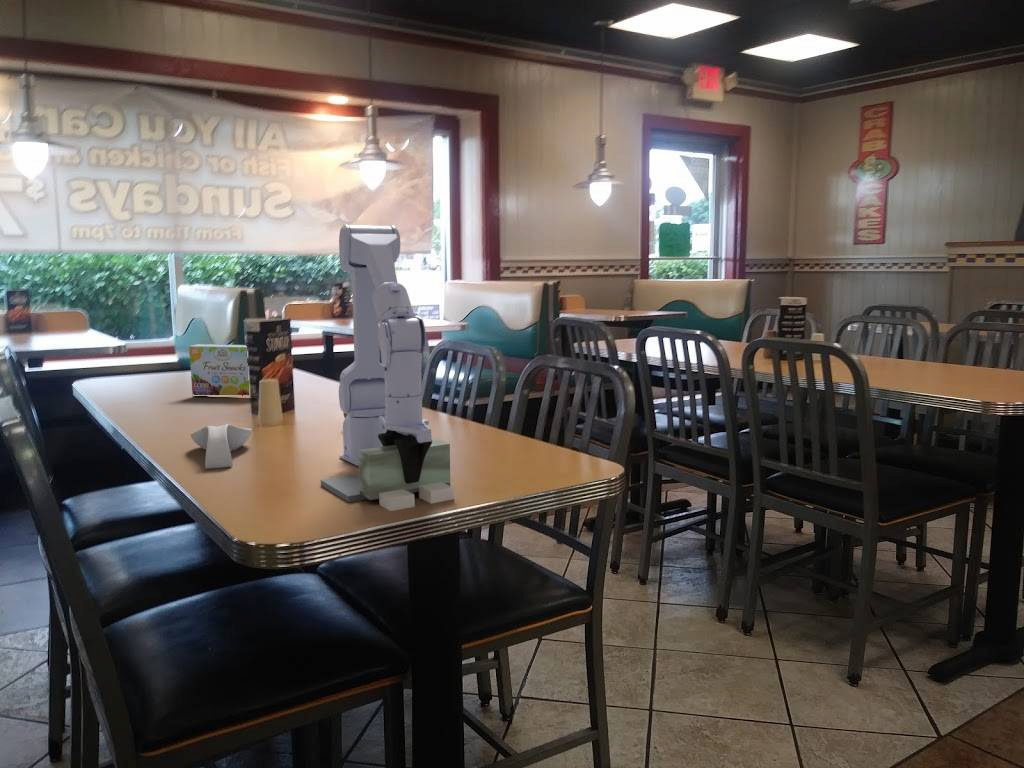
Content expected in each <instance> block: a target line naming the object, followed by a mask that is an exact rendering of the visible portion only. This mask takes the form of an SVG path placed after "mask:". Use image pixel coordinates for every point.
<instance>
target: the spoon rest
mask: <svg viewBox="0 0 1024 768" xmlns="http://www.w3.org/2000/svg"><path fill="white" fill-rule="evenodd" d="M252 432H253V429H252V428H248V427H239V426H235V425H233V424H229V423H226V424H223V425H220V426H214V425H206V426H204V427H202V428H201V429H199V430H196V431H194V432H191V433H190V438H191V440H192V441H193V442H194V443H195V444H196V445H198V446H199V447H201V449H203V450H204V451H205V457H204V459H205V461H204V467H205V469H208V470H210V469H223V468H231V467H233V459H232V455H231V452H233V451H237V450H238V449H239V448H240V447H242V446H243V445H245V443H246V442H247V441H248V440H249V439H250V437H251V435H252ZM232 450H233V451H232Z"/></svg>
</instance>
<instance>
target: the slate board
mask: <svg viewBox="0 0 1024 768" xmlns="http://www.w3.org/2000/svg"><path fill="white" fill-rule="evenodd" d="M320 487H322V488H324V489H326V490H327V491H329V492H331V493H332V494H334V495H336V496H337V497H339V498H340V499H342V500H344V501H345V502H347V503H352V502H358V501H364V500H369V499H368V498H366V497H364V496H363V495H361V494H360V488H359V473H356V474H350V475H348V474H347V475H342V476H335V477H331V478H330V477H329V478H324V479H320Z"/></svg>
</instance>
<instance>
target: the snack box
mask: <svg viewBox="0 0 1024 768" xmlns="http://www.w3.org/2000/svg"><path fill="white" fill-rule="evenodd" d="M246 345H247V344H215V343H214V344H212V343H211V344H209V343H208V344H207V343H198V344H192V345H189V346H188V349H189V350H188V351H189V364H190V365H189V367H190V377H191V380H190V381H191V392H192V395H193V394H194V395H242V396H243V395H249V380H248V368H247V366H248V363H247V346H246Z"/></svg>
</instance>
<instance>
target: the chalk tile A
mask: <svg viewBox="0 0 1024 768" xmlns="http://www.w3.org/2000/svg"><path fill="white" fill-rule="evenodd" d="M415 500H416V499H415V494H414V493H410V492H408V491H406V490H404V489H399V490H393V491H388V492H382V493H379V499H378V501H379V503H378V504H379V506H381V507H383V508H384V509H386V510H388V511H390V512H393V511H399V510H405V509H410V508H415V507H416V506H415V505H416V504H415Z"/></svg>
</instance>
